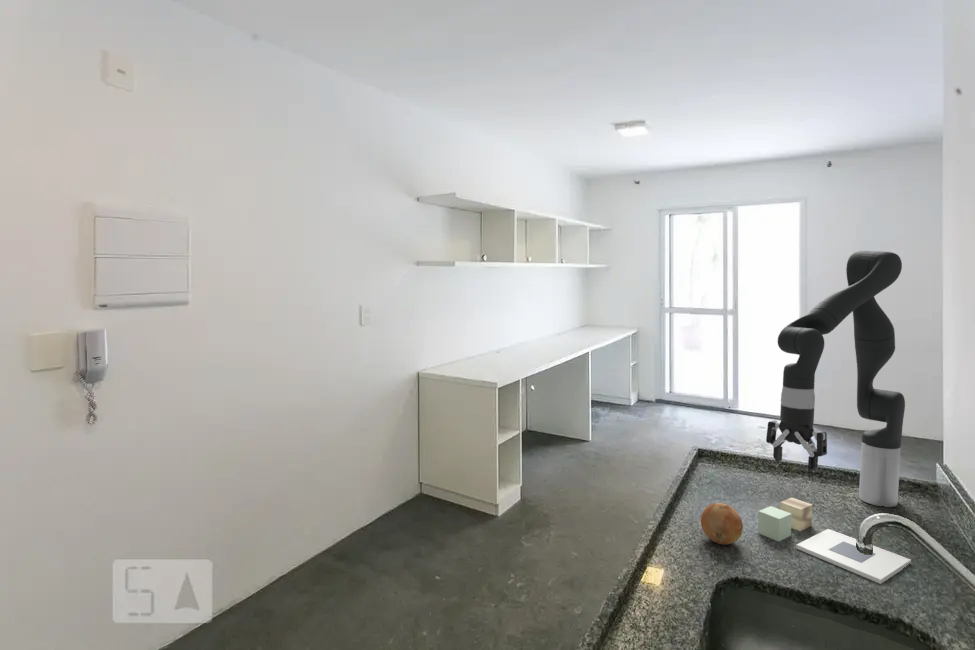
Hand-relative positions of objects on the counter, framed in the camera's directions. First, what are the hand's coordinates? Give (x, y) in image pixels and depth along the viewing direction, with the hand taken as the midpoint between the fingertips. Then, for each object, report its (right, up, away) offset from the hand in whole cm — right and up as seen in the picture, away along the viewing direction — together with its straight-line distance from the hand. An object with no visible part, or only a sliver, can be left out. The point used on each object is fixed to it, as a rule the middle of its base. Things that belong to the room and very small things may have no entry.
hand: (794, 465), depth 138 cm
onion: (-21, -19, -4) cm, 28 cm away
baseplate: (+7, -19, -11) cm, 23 cm away
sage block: (-5, -18, 0) cm, 19 cm away
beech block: (+3, -17, +5) cm, 18 cm away
